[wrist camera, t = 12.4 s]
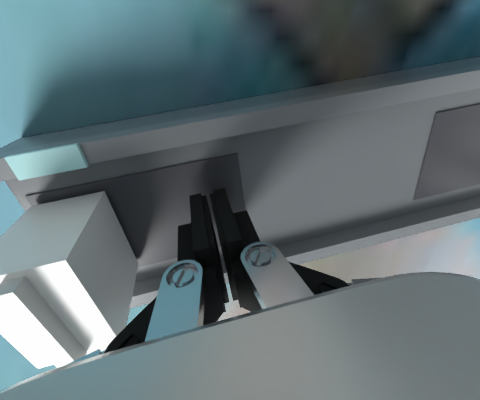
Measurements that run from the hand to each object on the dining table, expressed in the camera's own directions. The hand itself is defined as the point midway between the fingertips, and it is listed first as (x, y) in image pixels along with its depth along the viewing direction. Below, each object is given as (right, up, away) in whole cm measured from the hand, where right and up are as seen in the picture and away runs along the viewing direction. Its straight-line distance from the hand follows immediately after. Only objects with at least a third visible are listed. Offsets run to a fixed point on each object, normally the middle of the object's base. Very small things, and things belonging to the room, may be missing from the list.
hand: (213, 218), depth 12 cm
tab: (-6, -1, 0) cm, 6 cm away
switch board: (+7, +3, +4) cm, 9 cm away
